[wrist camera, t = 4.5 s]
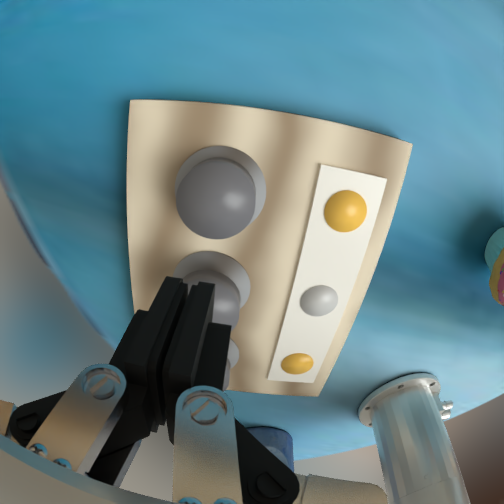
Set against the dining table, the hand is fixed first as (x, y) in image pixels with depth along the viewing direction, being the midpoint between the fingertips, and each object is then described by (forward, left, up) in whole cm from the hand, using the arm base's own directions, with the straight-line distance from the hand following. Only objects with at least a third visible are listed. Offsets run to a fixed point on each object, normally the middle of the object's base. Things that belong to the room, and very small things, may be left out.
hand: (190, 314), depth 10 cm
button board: (-3, +8, -15) cm, 17 cm away
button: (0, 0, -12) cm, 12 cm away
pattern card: (-9, +8, -13) cm, 17 cm away
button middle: (0, +8, -11) cm, 13 cm away
